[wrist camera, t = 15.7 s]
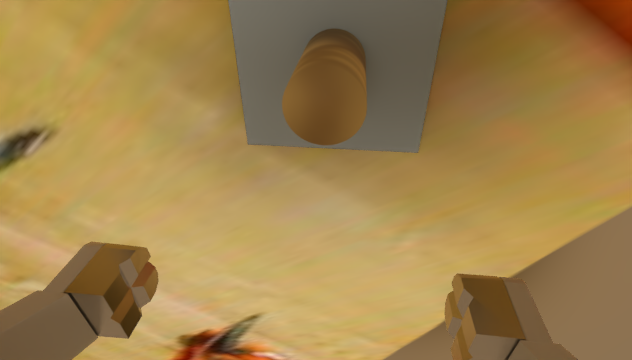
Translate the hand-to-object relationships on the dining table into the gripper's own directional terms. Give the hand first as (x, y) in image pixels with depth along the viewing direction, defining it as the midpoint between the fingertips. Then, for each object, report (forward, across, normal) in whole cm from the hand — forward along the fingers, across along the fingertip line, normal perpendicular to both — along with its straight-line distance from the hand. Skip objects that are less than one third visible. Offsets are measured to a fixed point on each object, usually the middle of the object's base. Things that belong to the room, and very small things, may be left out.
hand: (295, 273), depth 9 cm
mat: (+20, 0, 0) cm, 20 cm away
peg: (+19, 0, 0) cm, 19 cm away
